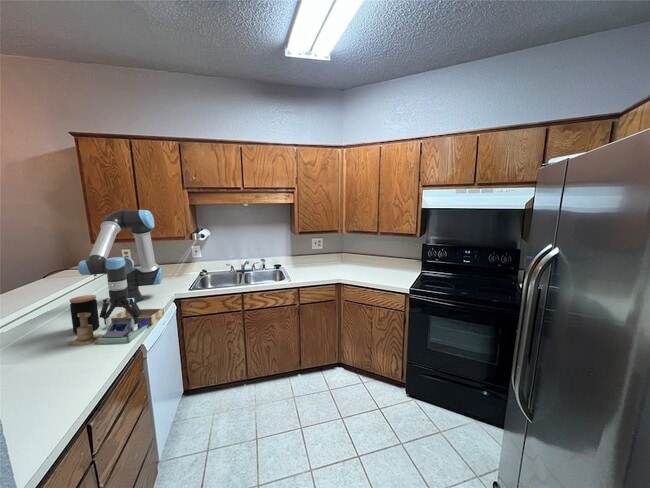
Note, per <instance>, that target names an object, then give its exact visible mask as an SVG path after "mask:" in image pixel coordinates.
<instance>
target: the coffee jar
mask: <svg viewBox="0 0 650 488" xmlns="http://www.w3.org/2000/svg"><path fill="white" fill-rule="evenodd" d="M69 303H70V304H69V305H70V307H69V308H70V315H71V324H72V331H73V333H74V334H76V335H77V328H78V327H80V318H79V317H78V315H77V314H78V313H83V312H87V313H91V316H89V317H87V319H88V325H92V327H93V332H95V331H97V330H98V329H99V328H100V317H99V309H98V301H97V295H95V294H84V295H80V296H75V297H72V298H70V299H69Z"/></svg>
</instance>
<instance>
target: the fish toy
mask: <svg viewBox="0 0 650 488" xmlns="http://www.w3.org/2000/svg"><path fill="white" fill-rule="evenodd" d="M148 320H149V318H146V319H145V320H144V321H143V322H142V323H141V324H140V323H137V327H138V326H140V325H143V326H146V325H147V321H148ZM124 329H125V327H116V328H115V330H116V331H124ZM147 329H150V326H147ZM131 331H133V328H131Z"/></svg>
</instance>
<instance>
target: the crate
mask: <svg viewBox="0 0 650 488" xmlns="http://www.w3.org/2000/svg"><path fill="white" fill-rule="evenodd" d="M139 309H140V311H141V313H142V315H141V316H139V317H138V321H139V322H138V323H140V324H141V323H142V322H143V321H144V320H145V319H146V318H149V320H148V321H147V325H148V327H153V325H155V324H156V323H158V321H160V320H161V319H162V318H164V316H165V311H164V310H165V309H164V308H139ZM110 317H111V322H113V320H114V318H124V317H129V318H133V317H132V316H131V315H130V314H129V313H128V311H127V310H126V309H124V310H121V311H120V312H118V313H117V314H114V315H113V316H110Z"/></svg>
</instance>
